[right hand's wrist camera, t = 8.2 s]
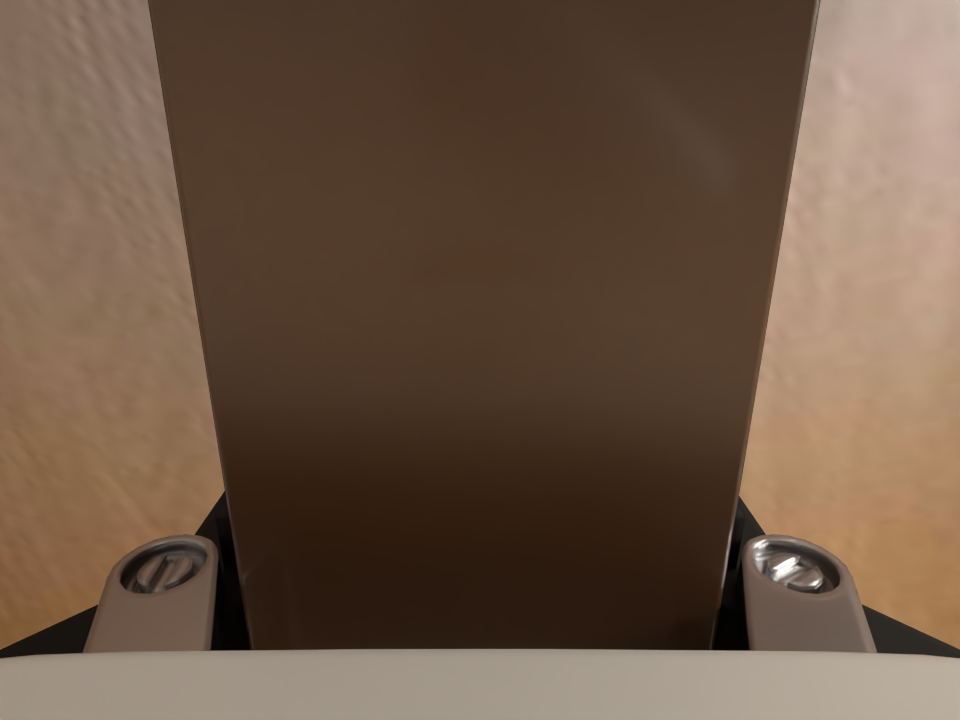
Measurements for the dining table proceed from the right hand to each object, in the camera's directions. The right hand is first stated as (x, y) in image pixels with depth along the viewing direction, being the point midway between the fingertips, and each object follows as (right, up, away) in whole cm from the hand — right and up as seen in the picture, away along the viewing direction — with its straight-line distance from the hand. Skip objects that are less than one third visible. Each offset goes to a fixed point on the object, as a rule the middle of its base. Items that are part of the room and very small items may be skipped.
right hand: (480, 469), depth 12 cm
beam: (0, +30, -7) cm, 31 cm away
